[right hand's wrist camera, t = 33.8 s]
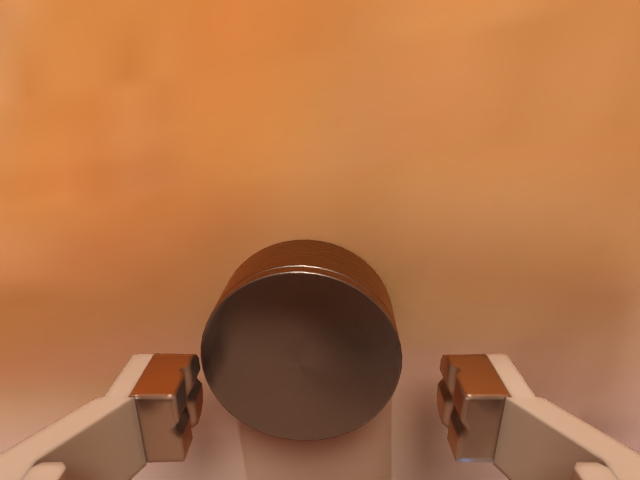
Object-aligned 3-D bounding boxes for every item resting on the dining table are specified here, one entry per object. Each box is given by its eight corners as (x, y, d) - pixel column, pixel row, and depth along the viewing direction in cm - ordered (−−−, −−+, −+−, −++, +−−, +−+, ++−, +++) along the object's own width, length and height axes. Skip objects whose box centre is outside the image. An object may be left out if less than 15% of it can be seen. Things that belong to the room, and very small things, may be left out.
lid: (207, 246, 12) (180, 280, 10) (388, 231, 12) (398, 263, 10) (237, 391, 14) (219, 445, 12) (395, 383, 13) (405, 436, 11)
